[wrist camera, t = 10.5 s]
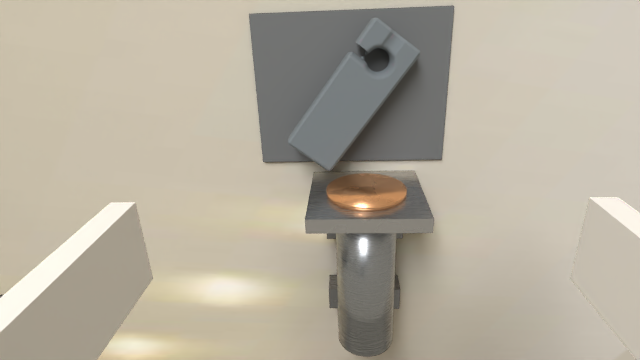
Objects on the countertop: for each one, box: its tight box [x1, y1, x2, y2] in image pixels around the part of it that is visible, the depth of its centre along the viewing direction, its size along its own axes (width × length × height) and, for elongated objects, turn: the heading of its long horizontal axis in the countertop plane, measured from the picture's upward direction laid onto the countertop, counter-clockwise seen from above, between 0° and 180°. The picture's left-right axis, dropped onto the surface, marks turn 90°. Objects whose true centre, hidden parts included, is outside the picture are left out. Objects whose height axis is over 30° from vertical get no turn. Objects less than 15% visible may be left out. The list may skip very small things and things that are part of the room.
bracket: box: [288, 18, 420, 171], centre depth 30 cm, size 4×10×2 cm, turn 145°
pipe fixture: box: [305, 171, 434, 357], centre depth 32 cm, size 8×13×8 cm, turn 2°
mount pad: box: [249, 6, 454, 162], centre depth 31 cm, size 14×11×1 cm
